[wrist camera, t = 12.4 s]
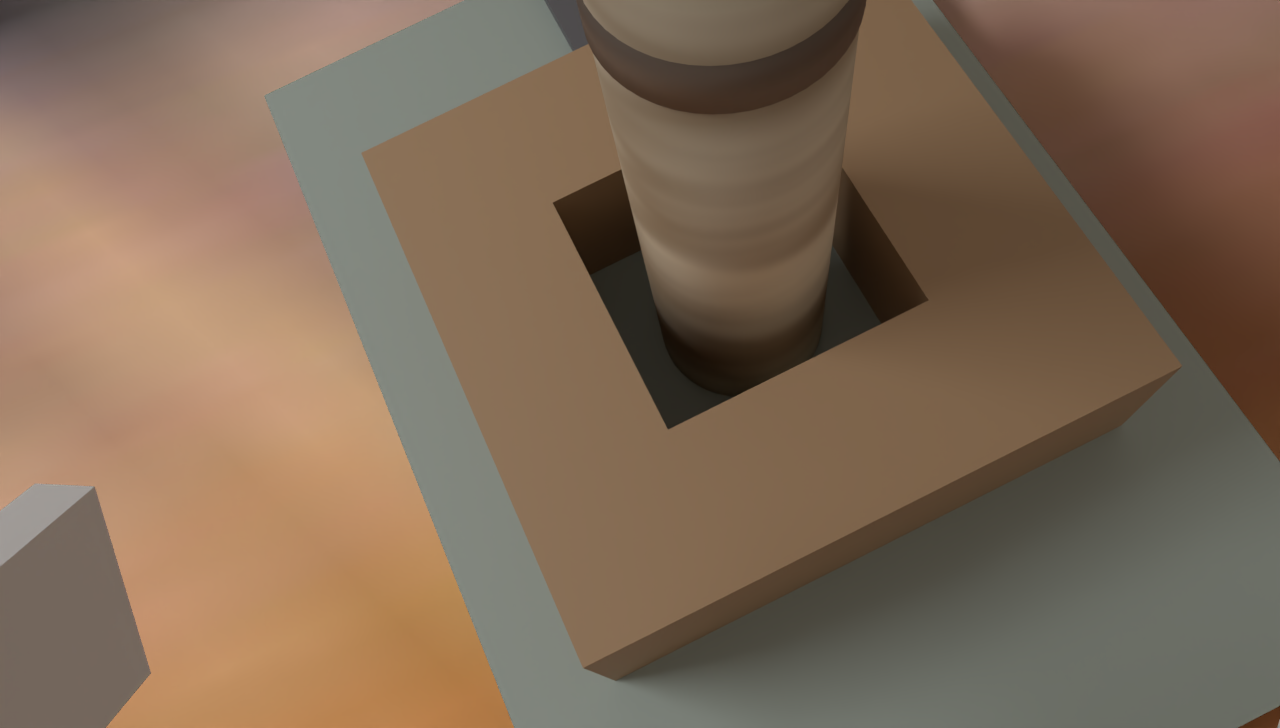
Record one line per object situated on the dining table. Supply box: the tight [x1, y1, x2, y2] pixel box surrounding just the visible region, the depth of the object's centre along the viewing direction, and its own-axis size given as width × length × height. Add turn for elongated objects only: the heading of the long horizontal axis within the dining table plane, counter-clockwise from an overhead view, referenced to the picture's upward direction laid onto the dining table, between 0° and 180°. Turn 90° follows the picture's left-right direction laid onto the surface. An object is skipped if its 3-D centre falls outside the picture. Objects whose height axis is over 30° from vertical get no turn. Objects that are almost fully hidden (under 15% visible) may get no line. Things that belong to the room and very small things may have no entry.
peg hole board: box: [265, 0, 1280, 728], centre depth 25 cm, size 26×18×5 cm
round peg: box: [576, 0, 866, 396], centre depth 20 cm, size 4×4×14 cm
